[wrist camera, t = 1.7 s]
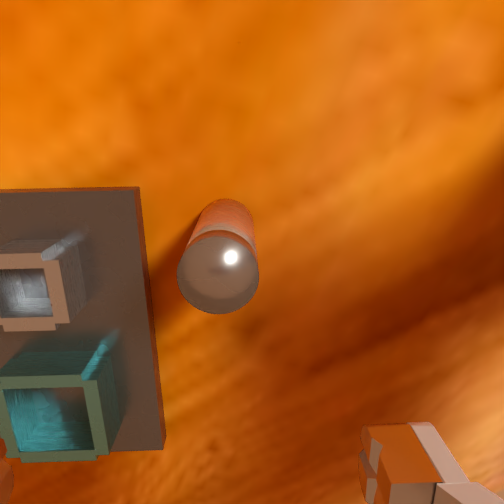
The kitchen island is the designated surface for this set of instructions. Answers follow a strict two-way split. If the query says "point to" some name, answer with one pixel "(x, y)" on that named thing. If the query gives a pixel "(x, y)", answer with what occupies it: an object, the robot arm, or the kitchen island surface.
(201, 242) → the fitting
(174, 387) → the kitchen island surface
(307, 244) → the kitchen island surface
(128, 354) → the manifold plate
